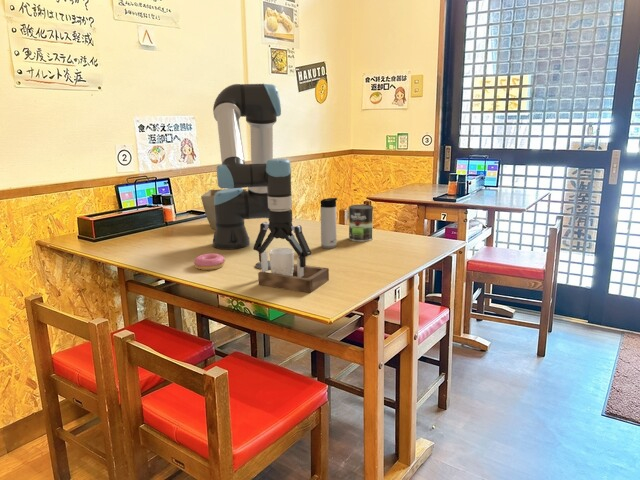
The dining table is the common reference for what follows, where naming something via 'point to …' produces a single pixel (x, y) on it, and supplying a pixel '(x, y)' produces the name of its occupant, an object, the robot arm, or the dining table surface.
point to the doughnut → (209, 261)
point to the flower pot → (211, 206)
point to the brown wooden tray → (296, 279)
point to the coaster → (260, 265)
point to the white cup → (282, 261)
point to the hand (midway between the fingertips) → (282, 274)
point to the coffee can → (360, 223)
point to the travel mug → (328, 223)
